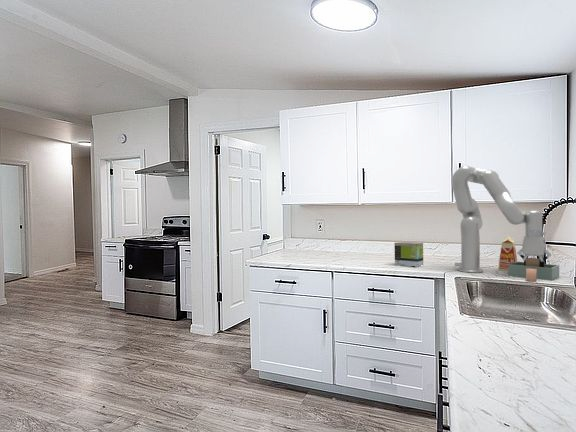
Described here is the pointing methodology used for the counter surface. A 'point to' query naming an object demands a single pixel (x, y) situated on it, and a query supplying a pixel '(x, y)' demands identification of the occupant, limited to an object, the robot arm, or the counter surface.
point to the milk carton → (507, 254)
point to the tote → (542, 272)
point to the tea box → (409, 253)
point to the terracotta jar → (531, 275)
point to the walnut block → (533, 262)
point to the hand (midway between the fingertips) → (533, 268)
